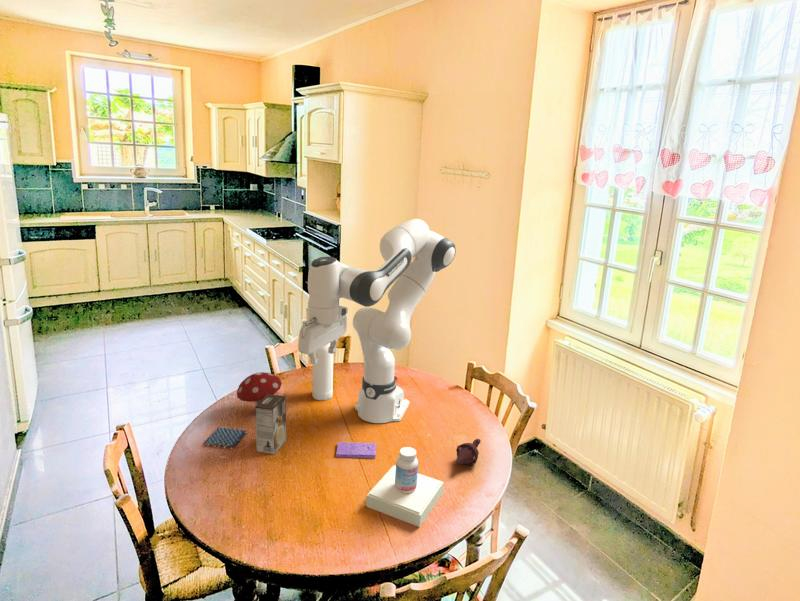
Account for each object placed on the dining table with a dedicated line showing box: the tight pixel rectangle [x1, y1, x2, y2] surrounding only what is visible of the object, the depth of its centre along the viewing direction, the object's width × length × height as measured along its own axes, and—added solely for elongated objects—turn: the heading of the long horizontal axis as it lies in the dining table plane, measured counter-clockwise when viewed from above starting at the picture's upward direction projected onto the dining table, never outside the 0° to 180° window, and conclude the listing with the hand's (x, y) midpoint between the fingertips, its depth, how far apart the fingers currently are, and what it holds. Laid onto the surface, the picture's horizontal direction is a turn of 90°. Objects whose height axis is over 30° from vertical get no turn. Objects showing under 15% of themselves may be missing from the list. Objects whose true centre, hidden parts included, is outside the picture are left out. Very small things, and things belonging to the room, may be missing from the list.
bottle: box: [311, 343, 334, 401], centre depth 194 cm, size 8×8×30 cm
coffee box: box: [254, 394, 287, 455], centre depth 162 cm, size 9×6×16 cm
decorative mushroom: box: [236, 371, 283, 406], centre depth 182 cm, size 16×16×15 cm
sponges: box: [335, 441, 377, 460], centre depth 163 cm, size 7×13×2 cm, turn 91°
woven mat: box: [203, 426, 248, 450], centre depth 166 cm, size 10×11×2 cm
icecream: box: [455, 438, 482, 467], centre depth 159 cm, size 7×7×15 cm
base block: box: [365, 464, 445, 528], centre depth 141 cm, size 16×16×4 cm
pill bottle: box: [395, 446, 419, 493], centre depth 139 cm, size 6×6×11 cm
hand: (323, 358), depth 151 cm, fingers open, 8 cm apart
